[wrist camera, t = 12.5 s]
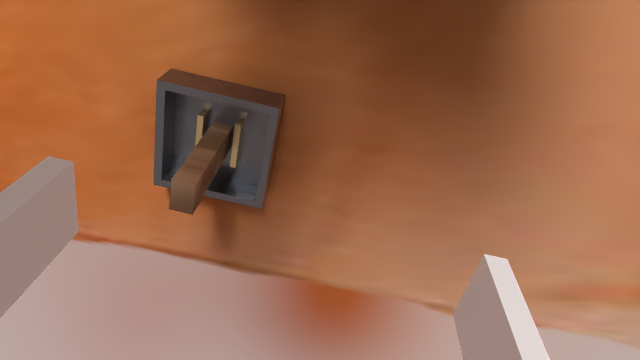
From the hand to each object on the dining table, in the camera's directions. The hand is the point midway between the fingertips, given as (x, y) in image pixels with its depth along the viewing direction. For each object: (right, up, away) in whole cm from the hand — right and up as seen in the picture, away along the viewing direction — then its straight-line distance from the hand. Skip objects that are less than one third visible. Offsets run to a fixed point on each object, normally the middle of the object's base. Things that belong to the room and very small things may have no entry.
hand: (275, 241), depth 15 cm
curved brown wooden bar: (-9, +7, +33) cm, 35 cm away
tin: (-9, +7, +34) cm, 35 cm away
